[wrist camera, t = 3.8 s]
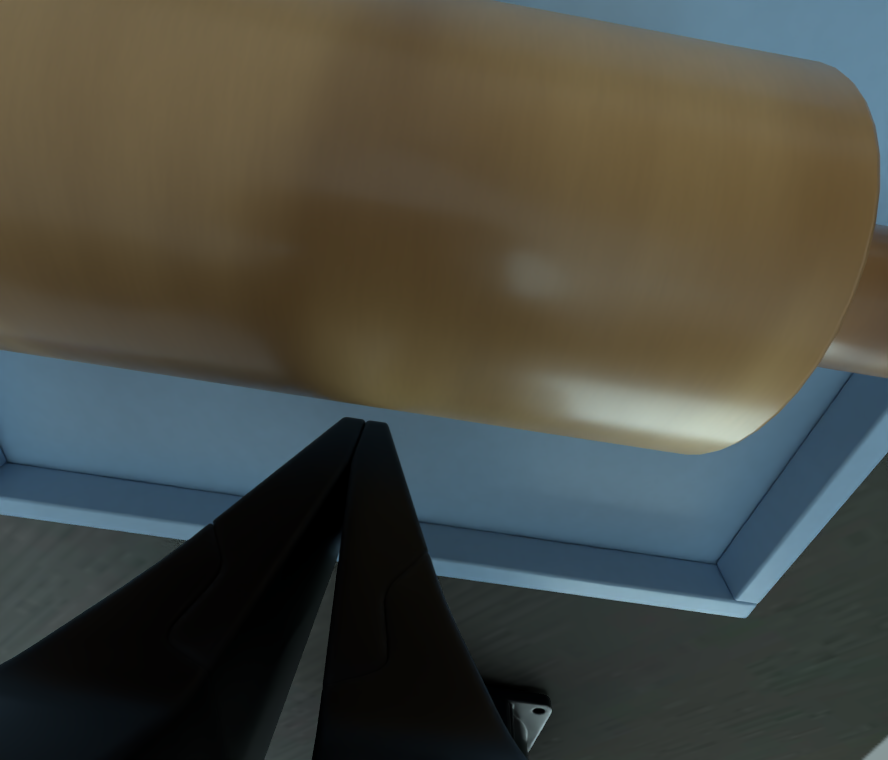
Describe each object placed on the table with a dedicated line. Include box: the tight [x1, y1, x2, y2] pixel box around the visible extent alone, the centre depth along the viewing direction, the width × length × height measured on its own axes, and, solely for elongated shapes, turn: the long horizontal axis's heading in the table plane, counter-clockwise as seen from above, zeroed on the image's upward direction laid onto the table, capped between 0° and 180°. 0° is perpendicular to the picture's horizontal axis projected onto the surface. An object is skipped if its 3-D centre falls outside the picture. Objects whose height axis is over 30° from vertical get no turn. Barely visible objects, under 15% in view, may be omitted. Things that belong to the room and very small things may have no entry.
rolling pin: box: [0, 0, 888, 455], centre depth 6 cm, size 5×18×5 cm, turn 81°
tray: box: [0, 0, 888, 618], centre depth 8 cm, size 19×21×2 cm
